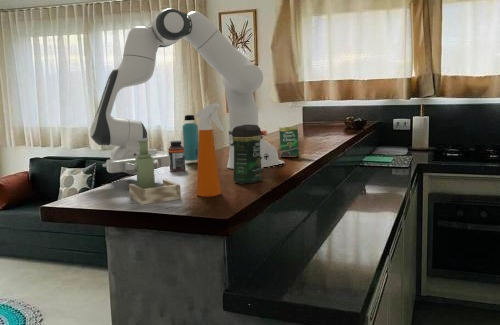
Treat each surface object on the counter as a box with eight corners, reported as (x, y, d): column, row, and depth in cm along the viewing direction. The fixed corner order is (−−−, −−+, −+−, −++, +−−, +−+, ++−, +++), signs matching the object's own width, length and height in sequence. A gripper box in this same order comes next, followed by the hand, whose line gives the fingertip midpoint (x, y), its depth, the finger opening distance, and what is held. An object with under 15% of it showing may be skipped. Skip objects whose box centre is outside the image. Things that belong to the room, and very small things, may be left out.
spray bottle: (218, 199, 136) (213, 103, 132) (191, 195, 143) (186, 104, 139) (235, 194, 142) (231, 102, 138) (209, 190, 149) (204, 102, 145)
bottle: (151, 186, 158) (148, 137, 155) (157, 189, 153) (154, 138, 151) (135, 189, 155) (131, 138, 153) (140, 192, 151) (137, 140, 148)
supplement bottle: (169, 170, 190) (167, 140, 188) (184, 168, 191) (183, 139, 189) (170, 172, 184) (168, 142, 183) (186, 171, 185) (184, 141, 184)
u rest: (167, 192, 149) (166, 179, 148) (180, 198, 139) (180, 184, 139) (130, 197, 143) (128, 184, 143) (141, 204, 134) (140, 190, 133)
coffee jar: (251, 185, 155) (248, 126, 152) (230, 183, 159) (227, 125, 156) (266, 179, 163) (264, 123, 160) (246, 178, 167) (243, 123, 164)
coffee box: (280, 158, 209) (279, 127, 207) (280, 157, 212) (279, 126, 210) (299, 157, 208) (298, 126, 206) (298, 156, 211) (298, 126, 209)
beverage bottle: (197, 164, 202) (194, 115, 199) (182, 164, 203) (179, 115, 200) (202, 161, 208) (199, 114, 205) (187, 161, 209) (184, 114, 206)
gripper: (100, 154, 159) (111, 159, 147) (160, 148, 169) (175, 152, 157) (101, 174, 160) (112, 180, 148) (162, 167, 170) (176, 172, 158)
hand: (145, 166), depth 152 cm, fingers closed on bottle, 5 cm apart
